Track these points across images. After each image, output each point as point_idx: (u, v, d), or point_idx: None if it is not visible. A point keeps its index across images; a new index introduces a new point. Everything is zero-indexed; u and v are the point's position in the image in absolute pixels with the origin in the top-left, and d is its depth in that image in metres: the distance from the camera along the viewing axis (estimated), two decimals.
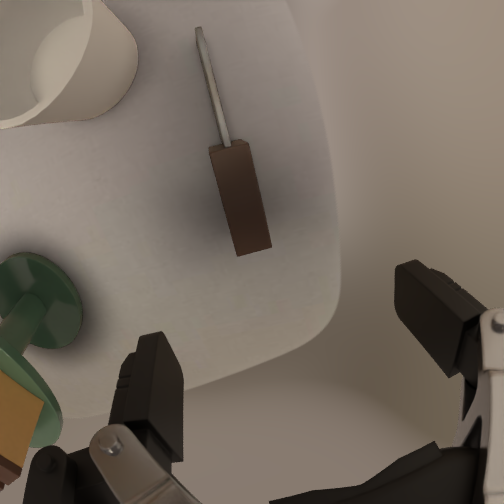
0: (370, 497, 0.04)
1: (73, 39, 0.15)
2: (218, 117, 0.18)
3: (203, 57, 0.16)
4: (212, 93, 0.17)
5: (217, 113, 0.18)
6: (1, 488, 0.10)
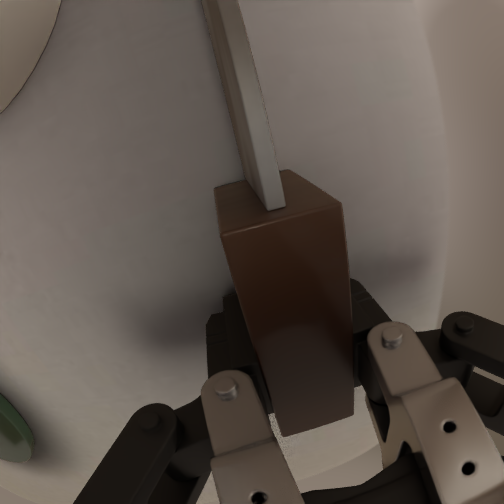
0: (370, 497, 0.04)
1: None
2: (248, 115, 0.05)
3: None
4: (229, 39, 0.05)
5: (245, 102, 0.05)
6: None
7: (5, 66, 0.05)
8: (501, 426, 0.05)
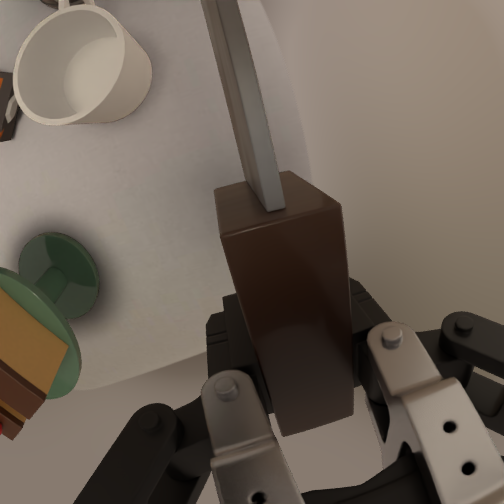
0: (370, 497, 0.04)
1: (100, 56, 0.20)
2: (248, 116, 0.05)
3: None
4: (229, 41, 0.05)
5: (245, 104, 0.05)
6: (20, 427, 0.15)
7: (138, 100, 0.23)
8: (501, 427, 0.05)
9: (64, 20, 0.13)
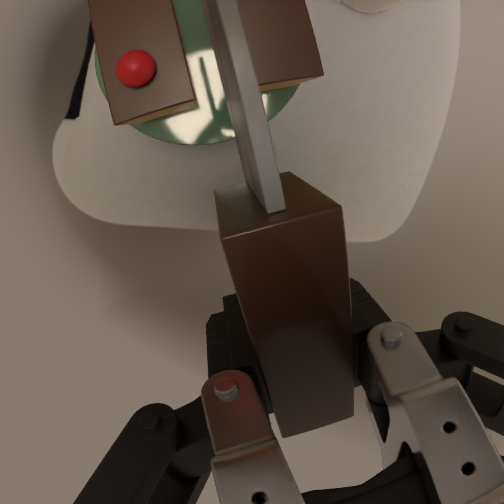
0: (370, 497, 0.04)
1: None
2: (249, 118, 0.05)
3: None
4: (230, 42, 0.05)
5: (245, 105, 0.05)
6: (193, 97, 0.12)
7: (381, 9, 0.23)
8: (501, 427, 0.05)
9: None
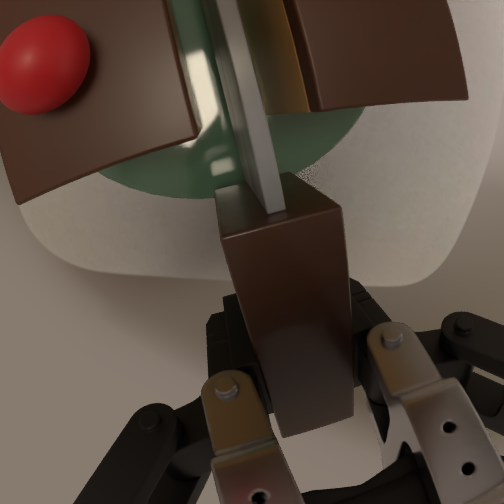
0: (370, 497, 0.04)
1: None
2: (248, 118, 0.05)
3: None
4: (230, 42, 0.05)
5: (245, 105, 0.05)
6: (192, 131, 0.05)
7: None
8: (501, 427, 0.05)
9: None
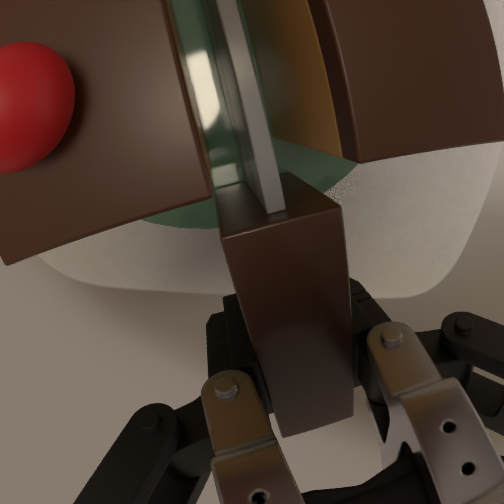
0: (370, 497, 0.04)
1: None
2: (248, 118, 0.05)
3: None
4: (229, 42, 0.05)
5: (245, 105, 0.05)
6: (206, 190, 0.04)
7: None
8: (501, 427, 0.05)
9: None
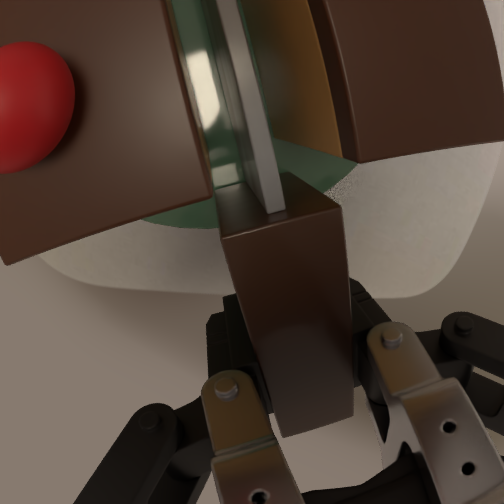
0: (370, 497, 0.04)
1: None
2: (248, 118, 0.05)
3: None
4: (229, 42, 0.05)
5: (245, 105, 0.05)
6: (206, 190, 0.04)
7: None
8: (501, 427, 0.05)
9: None
